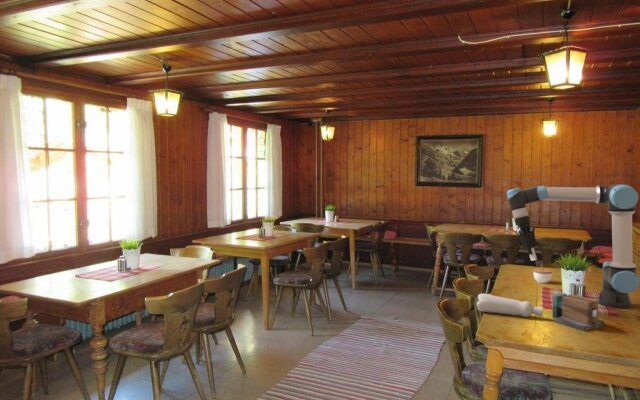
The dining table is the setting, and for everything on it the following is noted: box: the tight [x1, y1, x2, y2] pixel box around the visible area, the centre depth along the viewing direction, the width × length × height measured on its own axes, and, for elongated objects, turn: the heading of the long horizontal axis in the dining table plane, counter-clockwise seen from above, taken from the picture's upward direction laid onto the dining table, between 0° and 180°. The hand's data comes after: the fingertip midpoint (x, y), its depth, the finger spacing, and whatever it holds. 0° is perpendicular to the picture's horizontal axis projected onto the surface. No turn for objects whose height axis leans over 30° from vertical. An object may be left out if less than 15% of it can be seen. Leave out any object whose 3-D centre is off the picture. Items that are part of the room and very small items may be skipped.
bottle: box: [476, 292, 544, 318], centre depth 231 cm, size 9×9×30 cm
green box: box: [551, 293, 597, 319], centre depth 218 cm, size 8×18×11 cm, turn 29°
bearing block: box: [554, 294, 605, 332], centre depth 217 cm, size 16×14×12 cm
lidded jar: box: [532, 267, 553, 284], centre depth 298 cm, size 11×11×9 cm
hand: (534, 260), depth 244 cm, fingers closed
